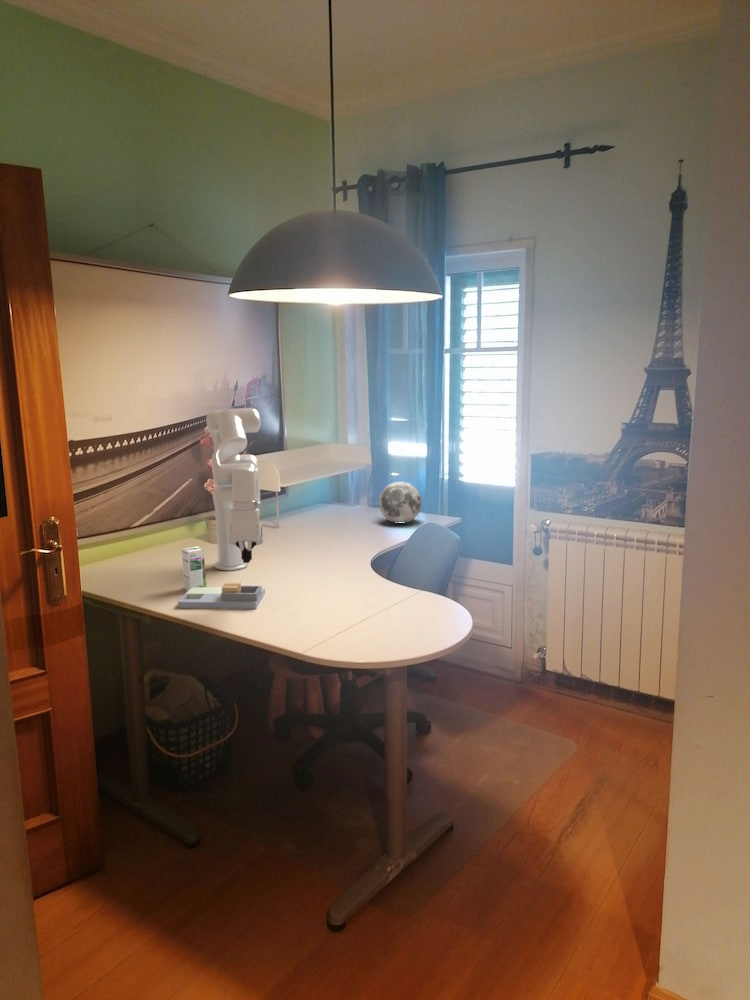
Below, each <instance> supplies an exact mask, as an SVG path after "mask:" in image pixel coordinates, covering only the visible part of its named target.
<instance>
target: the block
mask: <svg viewBox="0 0 750 1000" xmlns="http://www.w3.org/2000/svg"><path fill="white" fill-rule="evenodd" d="M241 586H242V584H241V582H224V584H223V585H222V587H221V588H222V593H241Z"/></svg>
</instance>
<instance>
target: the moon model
mask: <svg viewBox="0 0 750 1000" xmlns="http://www.w3.org/2000/svg"><path fill="white" fill-rule="evenodd" d="M378 503H379V504H378V505H379V510H380V513H381V514H382V516H383V517H384V518H385V519H386V520H387V521H389V522H391V523H393V522H397V523H398V522H407V523H410V522H411V521H413V520H414V519H415V518H416V517H417V516H418V515H419V513H420V511H421V509H422V497H421V494H420V491H418V489H417V488H416V487H415V486H414V485H412V484H411V483H409V482H406V481H396V482H391V483H390V484H388V485H387V486H386V487H385V488H384V489H383V490H382V491H381V494H380V496H379V502H378ZM409 521H410V522H409ZM397 523H396V524H397Z"/></svg>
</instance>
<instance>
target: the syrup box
mask: <svg viewBox="0 0 750 1000" xmlns="http://www.w3.org/2000/svg"><path fill="white" fill-rule="evenodd" d="M181 555H182V570H183V571H182V572H183V585H184V586H183V587H184V589H185V590H186V592H188V590H189V589H190V588H191V587H207V583H206V566H205V565H206V563H205V562H206V561H205V549H204V548H202V547H201V546H198V545H197V546H193V547H187V548H181Z"/></svg>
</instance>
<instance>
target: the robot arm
mask: <svg viewBox="0 0 750 1000" xmlns="http://www.w3.org/2000/svg"><path fill="white" fill-rule="evenodd" d="M205 419H206V426H207V429H208V432H209V434H210V437H211V439H212V442H213V449H214V451H213V454H212V457H211V461H210V462H211V471H212V479H213V482H214V483H215V485H216V486H215V487H214V489H213V490H212V500H213V506H214V511H215V521H216V541H217V561H215V562H214V566H213V567H214V568H215V569H217V570H221V571H236V570H237V571H238V570H242V569H244V568H246V567H248V565H249V563H250V562H251V561H252V559H253V553H252V552H253V551H252V550H253V549H254V547H255V546H259V545H263V543H264V540H263V536H264V535H263V533H264V532H263V531H264V530H263V522H262V521H263V520H262V515H261V510H260V508H258V507H262V502H261V483H260V466H259V465H260V464H259V461H258V458H257V457H256V456H255V455H254V454H248V453H247V454H241V453H243V451H244V450H246V449H247V446H248V439H247V435H246V433H249V434H250V433H251V434H252V433H258V432H259V431H260V429H261V425H262V422H261V421H262V420H261V416H260V413H259V411H258V410H257V409H256V408H251V407H249V408H248V407H243V408H241V407H239V408H226V409H217V410H216V409H215V410H212V411H209V412H208V413H207V415H206V417H205ZM245 542H247V546H246V543H245Z"/></svg>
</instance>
